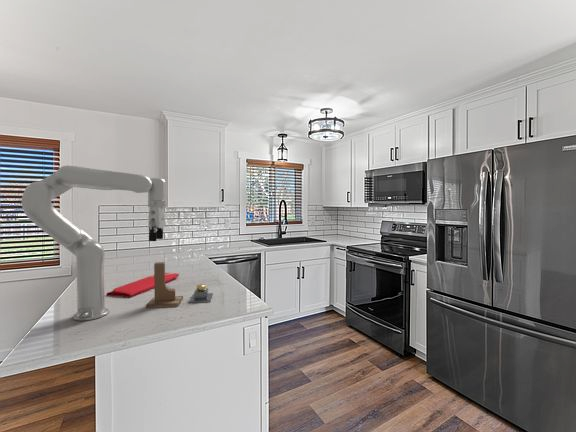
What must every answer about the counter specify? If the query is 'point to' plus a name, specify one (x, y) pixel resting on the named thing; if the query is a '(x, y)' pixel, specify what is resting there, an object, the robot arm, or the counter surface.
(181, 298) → the board
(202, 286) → the button
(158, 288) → the wooden block
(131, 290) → the dish drying mat
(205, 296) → the plate
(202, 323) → the counter surface
